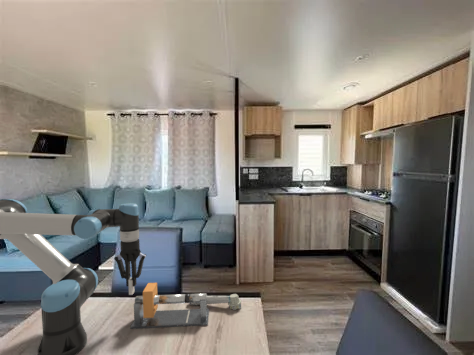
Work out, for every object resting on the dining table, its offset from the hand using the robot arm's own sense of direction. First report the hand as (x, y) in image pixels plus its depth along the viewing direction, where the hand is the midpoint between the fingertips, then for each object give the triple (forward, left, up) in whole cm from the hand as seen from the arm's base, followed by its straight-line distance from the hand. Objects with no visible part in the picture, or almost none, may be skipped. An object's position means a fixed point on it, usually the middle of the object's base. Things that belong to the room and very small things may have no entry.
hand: (131, 293), depth 110 cm
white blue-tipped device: (+36, +9, -13) cm, 39 cm away
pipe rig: (+17, 0, -12) cm, 21 cm away
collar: (+8, 0, -9) cm, 12 cm away
